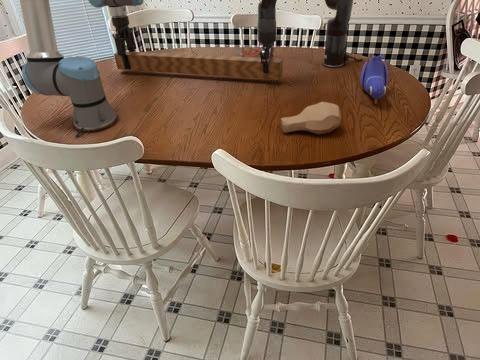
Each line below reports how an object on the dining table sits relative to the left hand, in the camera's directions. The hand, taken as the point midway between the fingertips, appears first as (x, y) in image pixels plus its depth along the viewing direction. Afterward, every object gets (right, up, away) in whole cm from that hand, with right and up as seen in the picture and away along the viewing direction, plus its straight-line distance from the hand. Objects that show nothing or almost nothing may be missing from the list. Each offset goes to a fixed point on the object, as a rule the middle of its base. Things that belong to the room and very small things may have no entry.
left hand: (130, 67), depth 175 cm
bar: (+33, -6, -9) cm, 35 cm away
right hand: (+66, -8, -21) cm, 70 cm away
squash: (+78, -39, -55) cm, 103 cm away
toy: (+106, -23, -36) cm, 114 cm away
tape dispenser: (+59, +2, +2) cm, 60 cm away
